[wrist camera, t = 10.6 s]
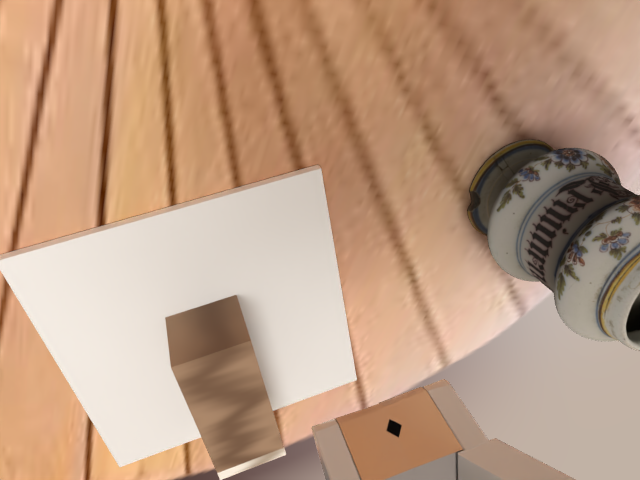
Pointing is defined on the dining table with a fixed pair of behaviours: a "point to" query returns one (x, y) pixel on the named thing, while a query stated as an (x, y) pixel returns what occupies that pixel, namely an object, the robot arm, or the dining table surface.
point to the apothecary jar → (565, 233)
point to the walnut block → (223, 386)
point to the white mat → (189, 303)
